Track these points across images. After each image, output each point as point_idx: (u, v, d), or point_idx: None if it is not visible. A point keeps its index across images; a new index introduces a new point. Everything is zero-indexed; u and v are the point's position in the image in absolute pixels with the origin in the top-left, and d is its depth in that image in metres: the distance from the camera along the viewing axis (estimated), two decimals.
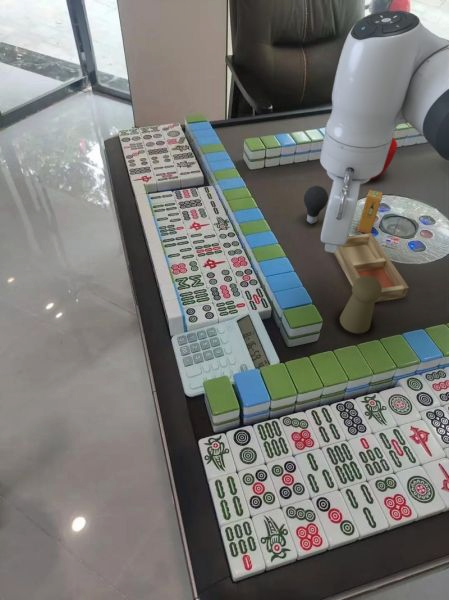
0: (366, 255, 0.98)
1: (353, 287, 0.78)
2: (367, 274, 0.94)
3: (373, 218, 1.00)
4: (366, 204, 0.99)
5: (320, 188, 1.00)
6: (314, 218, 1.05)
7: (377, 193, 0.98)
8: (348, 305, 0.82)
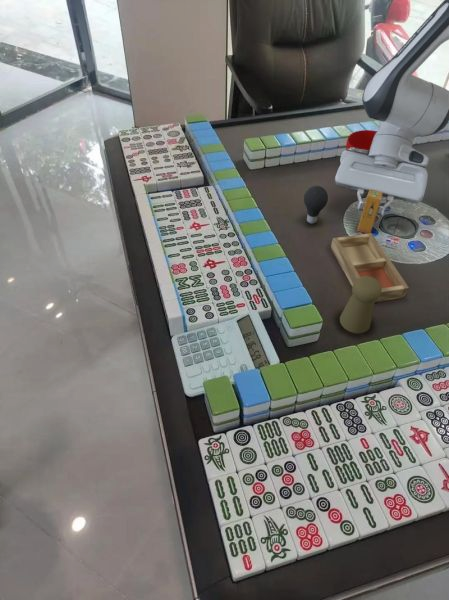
0: (366, 255, 0.98)
1: (353, 287, 0.78)
2: (367, 274, 0.94)
3: (373, 218, 1.00)
4: (366, 204, 0.99)
5: (320, 188, 1.00)
6: (314, 218, 1.05)
7: (377, 193, 0.98)
8: (348, 305, 0.82)
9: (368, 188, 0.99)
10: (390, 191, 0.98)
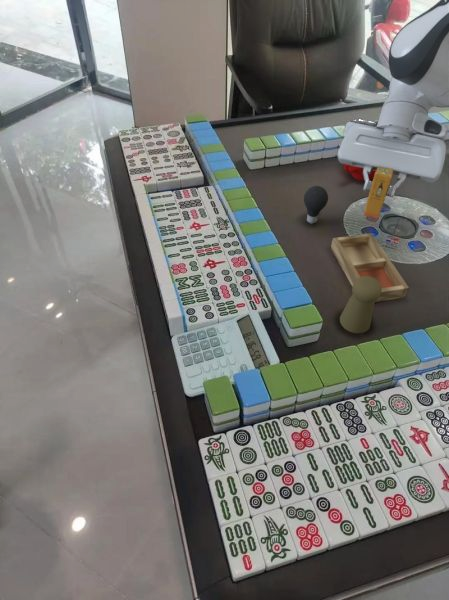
0: (366, 255, 0.98)
1: (353, 287, 0.78)
2: (367, 274, 0.94)
3: (382, 200, 0.87)
4: (374, 183, 0.85)
5: (320, 188, 1.00)
6: (314, 218, 1.05)
7: (387, 170, 0.85)
8: (348, 305, 0.82)
9: (376, 165, 0.86)
10: (402, 168, 0.84)
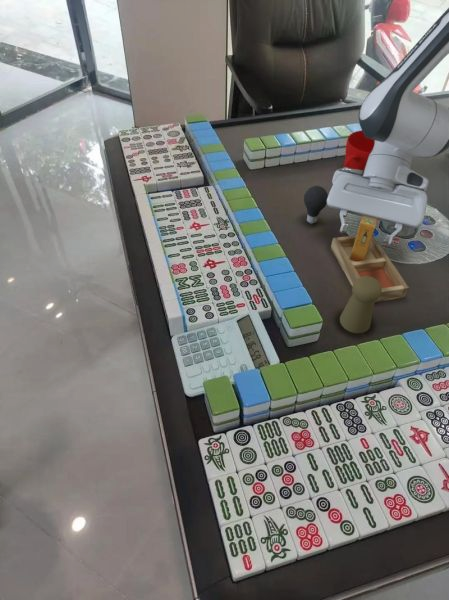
0: (366, 255, 0.98)
1: (353, 287, 0.78)
2: (367, 274, 0.94)
3: (367, 246, 0.93)
4: (359, 232, 0.91)
5: (320, 188, 1.00)
6: (314, 218, 1.05)
7: (371, 220, 0.91)
8: (348, 305, 0.82)
9: (362, 212, 0.91)
10: (386, 216, 0.90)
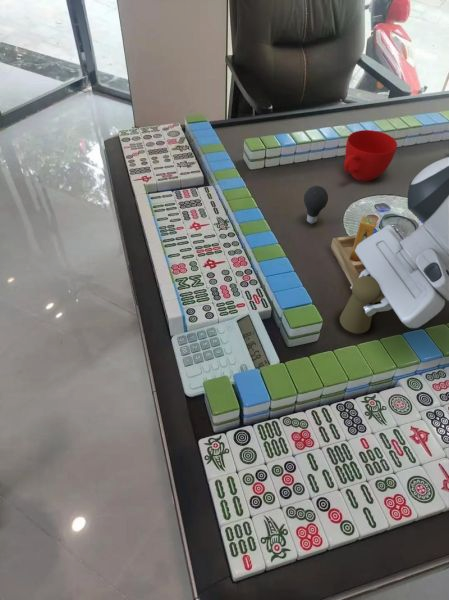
0: None
1: (353, 287, 0.78)
2: None
3: None
4: (359, 232, 0.91)
5: (320, 188, 1.00)
6: (314, 218, 1.05)
7: (371, 220, 0.91)
8: (348, 305, 0.82)
9: (372, 275, 0.79)
10: (386, 292, 0.76)
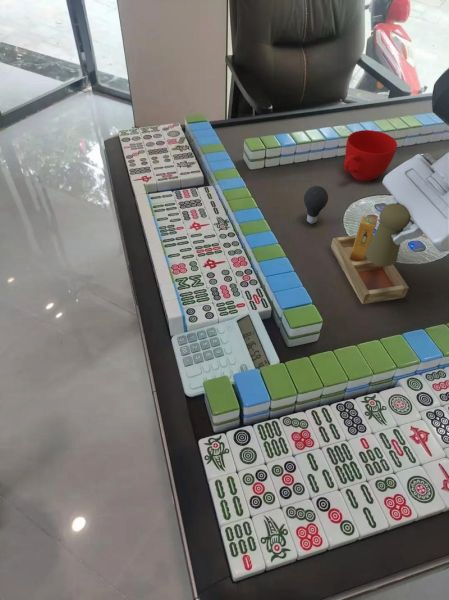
0: None
1: (381, 214, 0.76)
2: (367, 274, 0.94)
3: (367, 246, 0.93)
4: (359, 232, 0.91)
5: (320, 188, 1.00)
6: (314, 218, 1.05)
7: (371, 220, 0.91)
8: (375, 236, 0.80)
9: (400, 203, 0.77)
10: (416, 217, 0.74)
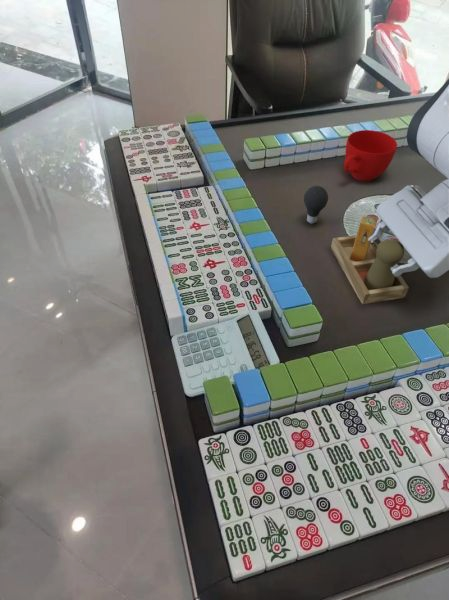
0: (366, 255, 0.98)
1: (377, 249, 0.84)
2: None
3: (367, 246, 0.93)
4: (359, 232, 0.91)
5: (320, 188, 1.00)
6: (314, 218, 1.05)
7: (371, 220, 0.91)
8: (372, 267, 0.88)
9: (393, 232, 0.85)
10: (408, 246, 0.81)
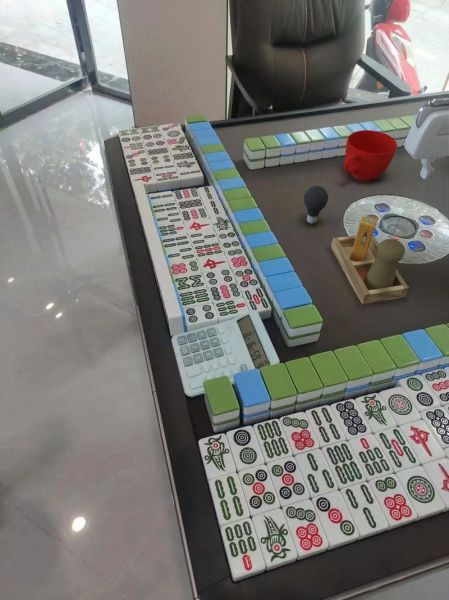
0: (366, 255, 0.98)
1: (378, 248, 0.85)
2: None
3: (367, 246, 0.93)
4: (359, 232, 0.91)
5: (320, 188, 1.00)
6: (314, 218, 1.05)
7: (371, 220, 0.91)
8: (372, 267, 0.88)
9: None
10: None
